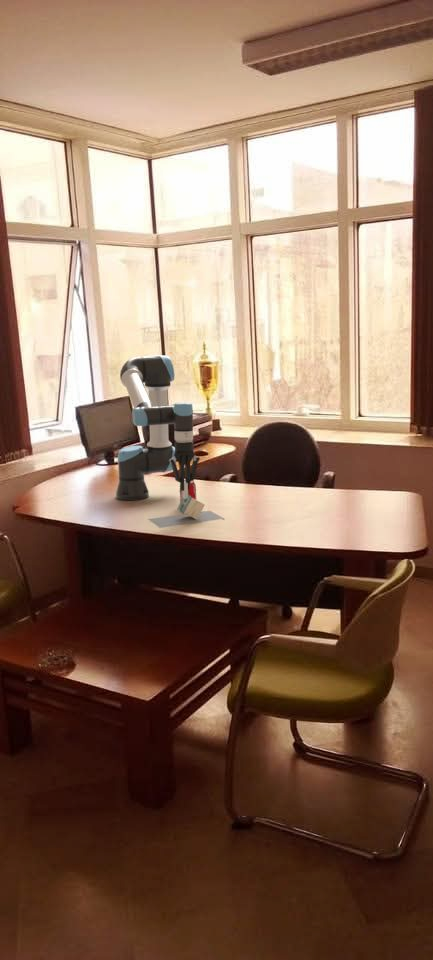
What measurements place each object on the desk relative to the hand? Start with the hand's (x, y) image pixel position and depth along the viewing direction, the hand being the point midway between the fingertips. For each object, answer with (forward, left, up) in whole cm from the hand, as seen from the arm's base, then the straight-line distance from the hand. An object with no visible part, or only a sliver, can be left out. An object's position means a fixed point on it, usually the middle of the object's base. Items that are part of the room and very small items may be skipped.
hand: (185, 498), depth 315 cm
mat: (0, 0, -9) cm, 9 cm away
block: (0, -1, -2) cm, 2 cm away
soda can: (-17, +8, -9) cm, 21 cm away
